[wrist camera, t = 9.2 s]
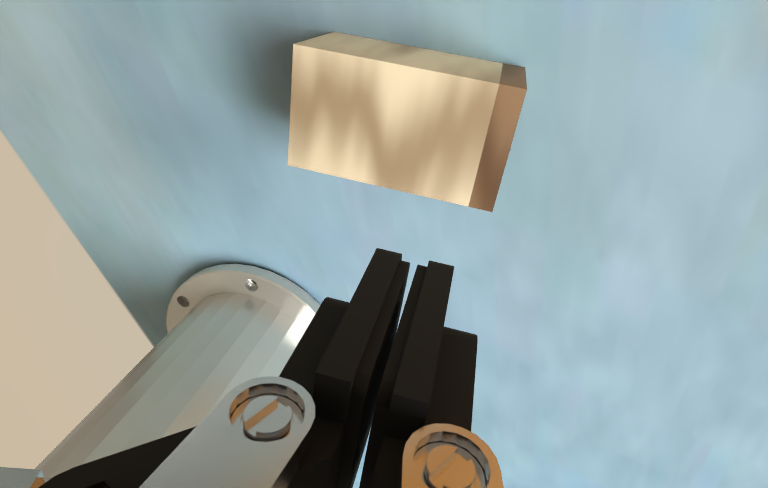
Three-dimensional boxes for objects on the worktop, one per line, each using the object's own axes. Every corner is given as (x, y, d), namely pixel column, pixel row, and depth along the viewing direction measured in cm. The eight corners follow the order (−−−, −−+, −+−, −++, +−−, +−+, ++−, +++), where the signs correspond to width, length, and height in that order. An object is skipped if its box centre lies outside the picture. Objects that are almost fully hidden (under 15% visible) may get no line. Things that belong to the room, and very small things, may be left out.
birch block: (492, 211, 20) (288, 164, 22) (496, 171, 25) (325, 133, 26) (526, 89, 18) (293, 43, 19) (525, 67, 22) (334, 31, 23)
